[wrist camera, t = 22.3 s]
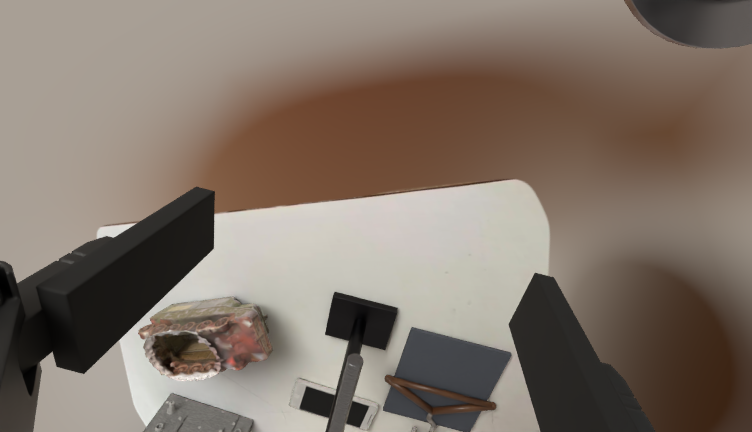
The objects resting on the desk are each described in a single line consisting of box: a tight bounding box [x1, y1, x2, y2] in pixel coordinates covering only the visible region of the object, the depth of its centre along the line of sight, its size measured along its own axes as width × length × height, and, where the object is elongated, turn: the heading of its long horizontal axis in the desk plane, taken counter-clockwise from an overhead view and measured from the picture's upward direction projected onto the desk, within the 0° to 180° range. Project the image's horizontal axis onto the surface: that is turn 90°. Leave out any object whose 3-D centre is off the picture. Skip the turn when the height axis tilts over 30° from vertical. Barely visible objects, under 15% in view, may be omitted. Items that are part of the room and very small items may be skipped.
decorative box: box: [138, 297, 273, 381], centre depth 55 cm, size 13×20×10 cm, turn 97°
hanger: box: [385, 375, 496, 432], centre depth 63 cm, size 19×1×14 cm
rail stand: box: [325, 292, 398, 432], centre depth 44 cm, size 20×10×24 cm, turn 168°
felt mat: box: [383, 327, 511, 432], centre depth 61 cm, size 16×20×1 cm
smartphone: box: [289, 379, 378, 431], centre depth 66 cm, size 7×15×1 cm, turn 73°
